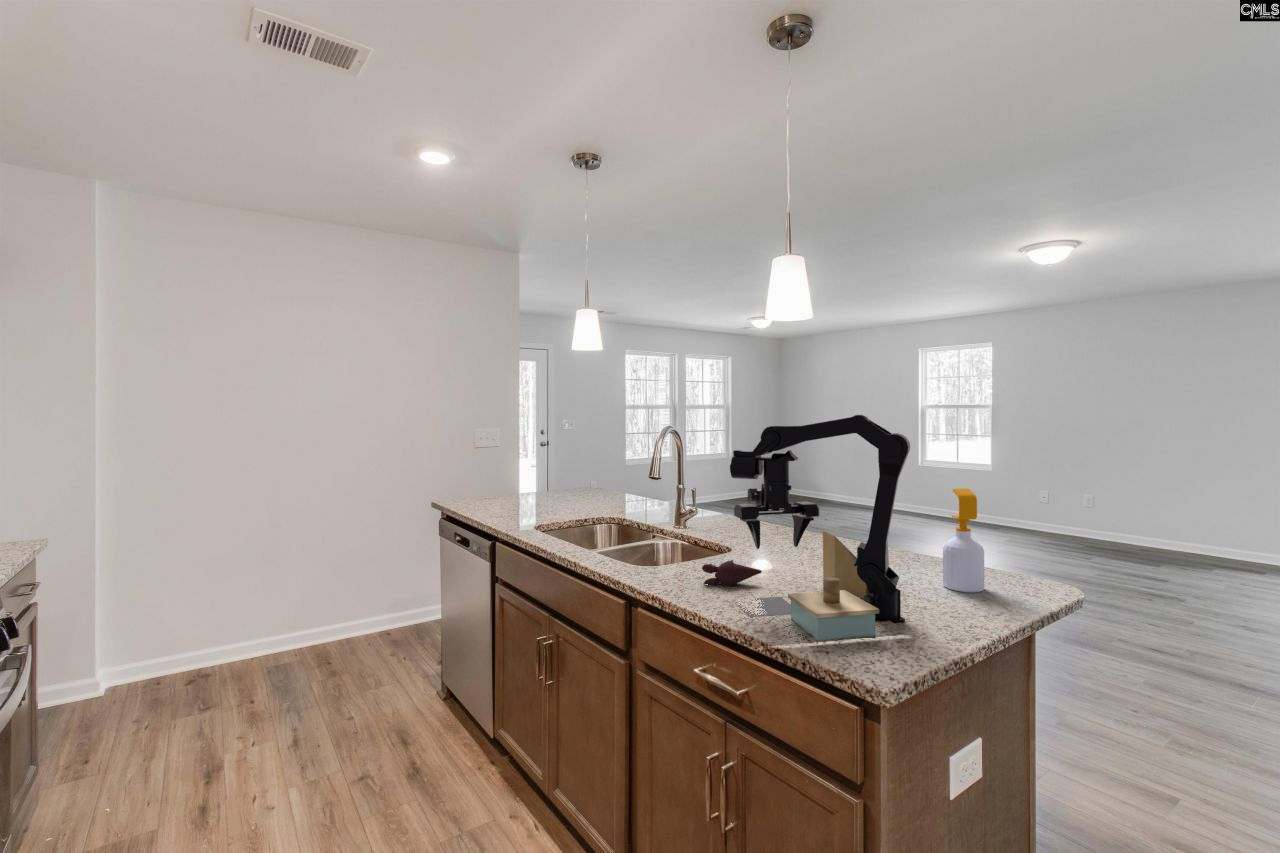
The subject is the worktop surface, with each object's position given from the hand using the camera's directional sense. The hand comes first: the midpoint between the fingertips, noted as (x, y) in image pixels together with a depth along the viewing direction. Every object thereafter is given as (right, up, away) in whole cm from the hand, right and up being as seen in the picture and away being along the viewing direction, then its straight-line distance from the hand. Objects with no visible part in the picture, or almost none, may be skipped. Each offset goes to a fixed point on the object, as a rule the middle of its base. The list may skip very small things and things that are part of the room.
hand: (776, 547), depth 138 cm
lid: (+7, -8, -17) cm, 20 cm away
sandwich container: (+22, -13, +8) cm, 27 cm away
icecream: (-8, -13, +15) cm, 21 cm away
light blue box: (+7, -13, -17) cm, 23 cm away
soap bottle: (+49, -12, +11) cm, 52 cm away
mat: (-3, -13, -3) cm, 14 cm away
